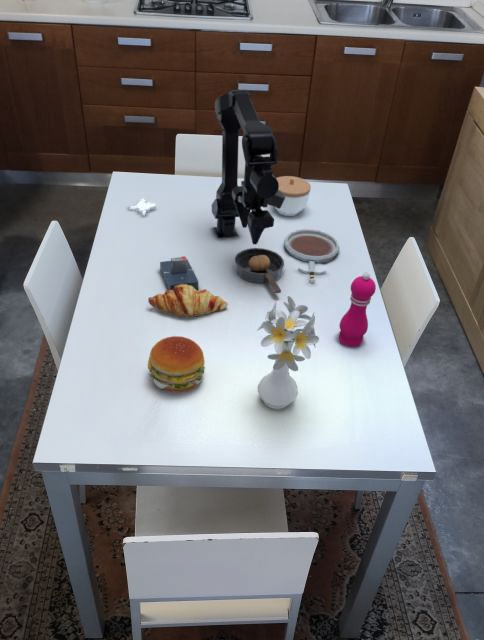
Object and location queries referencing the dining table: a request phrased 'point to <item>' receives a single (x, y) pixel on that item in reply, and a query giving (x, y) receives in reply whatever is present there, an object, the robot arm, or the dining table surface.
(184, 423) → the dining table surface
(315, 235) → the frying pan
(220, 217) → the robot arm
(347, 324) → the pepper mill
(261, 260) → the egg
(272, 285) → the egg pan handle
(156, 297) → the croissant
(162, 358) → the burger
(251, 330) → the dining table surface
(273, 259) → the egg pan
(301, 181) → the lidded bowl
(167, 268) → the hob control
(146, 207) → the acanthus leaf ornament
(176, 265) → the hob knob
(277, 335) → the flower vase
